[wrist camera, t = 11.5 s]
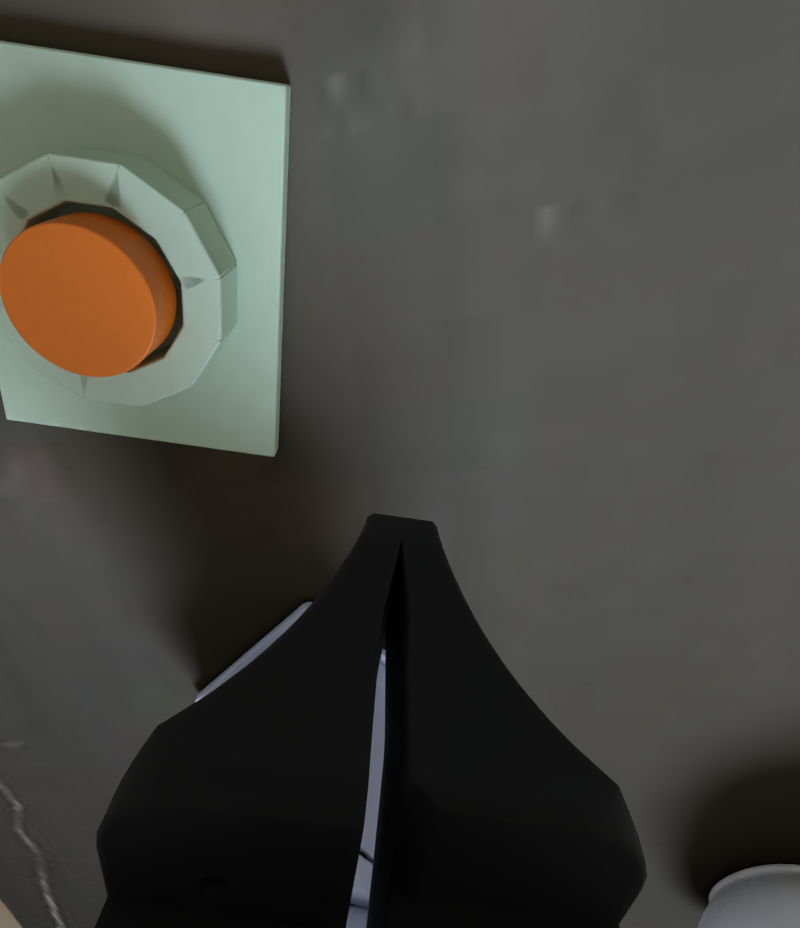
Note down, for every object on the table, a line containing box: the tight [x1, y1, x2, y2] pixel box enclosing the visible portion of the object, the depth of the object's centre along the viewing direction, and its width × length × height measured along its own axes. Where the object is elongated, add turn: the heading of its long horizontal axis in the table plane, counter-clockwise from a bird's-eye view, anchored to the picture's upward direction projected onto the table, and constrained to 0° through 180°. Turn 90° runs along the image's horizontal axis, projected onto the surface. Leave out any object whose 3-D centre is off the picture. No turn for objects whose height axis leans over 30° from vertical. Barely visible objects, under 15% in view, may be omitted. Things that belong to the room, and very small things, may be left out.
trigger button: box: [0, 212, 177, 377], centre depth 18 cm, size 4×4×2 cm
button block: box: [0, 40, 291, 457], centre depth 20 cm, size 12×10×2 cm
